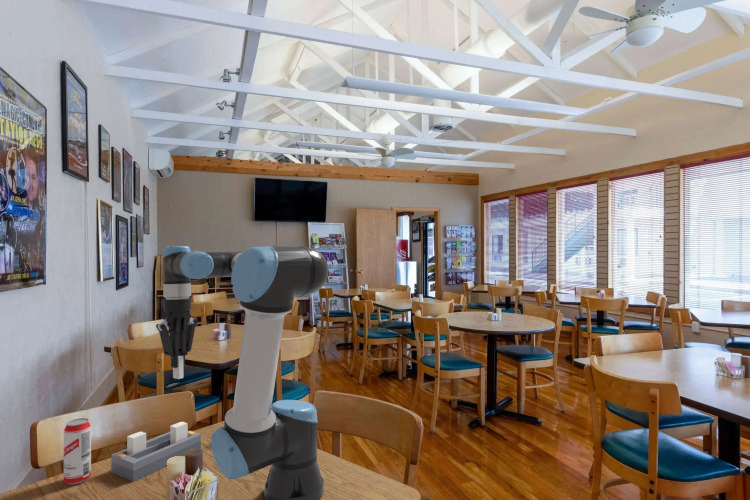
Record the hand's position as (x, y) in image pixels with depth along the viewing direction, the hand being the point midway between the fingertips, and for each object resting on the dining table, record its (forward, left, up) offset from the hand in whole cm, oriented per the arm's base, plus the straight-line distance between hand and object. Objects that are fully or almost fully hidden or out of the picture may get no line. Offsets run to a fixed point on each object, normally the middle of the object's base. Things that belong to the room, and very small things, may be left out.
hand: (178, 377), depth 131 cm
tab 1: (+9, +7, -22) cm, 25 cm away
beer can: (+16, +20, -25) cm, 36 cm away
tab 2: (+5, -4, -22) cm, 23 cm away
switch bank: (+7, +2, -25) cm, 26 cm away
